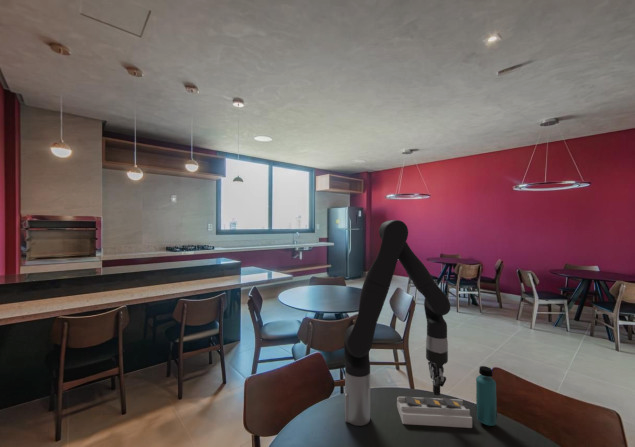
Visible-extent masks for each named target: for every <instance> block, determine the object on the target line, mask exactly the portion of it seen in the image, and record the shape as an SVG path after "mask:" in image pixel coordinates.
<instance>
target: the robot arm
mask: <svg viewBox="0 0 635 447" xmlns="http://www.w3.org/2000/svg"><path fill="white" fill-rule="evenodd" d="M378 234H379V237H380V239H381V243H380V248H379V250H378V254H377V256H376V258H375V259H374V260H373V263H372V264H371V265H370V268H369V269H368V271H367V273H366V275H365V279H364V281H363V284H362V287H361V291H360V296H359V304H358V305H359V306H358V311H357V317H356V320H355V322H354V324H352V325H350V326H349V327H348V328H347V329H346V331H345V333H344V366H345V367H344V371H345V372H344V373H345V374H344V378H345V379H344V384H345V385H344V422H345V423H349V424H351V425H353V426H358V427H359V426H361V427H362V426H363V427H364V426H365V425H367V424H369V422H370V421H371V362H370V353H369V352H370V351H371V349H372V346H373V341H374V336H375V331H376V328H377V324H378V320H379V318H380V315H381V313H382V310H383V307H384V304H385V301H386V299H387V296H388V293H389V290H390V287H391V283H392V280H393V277H394V273H395V271H396V267H397V264H398V261H399V262H400V264H401V266H402V267H403V269H404V270H405V271H406V274H407V275H408V277H409V279H410V280H411V281H412V283H413V285H414V287H415V288H416V289H417V291H418V293H420V294H421V295H422V297H424V301H423V306H424V313H425V318H426V319H425V320H426V340H425V358H426V360H427V361H428V362H427V364H428V370H429V376H430V379H431V383H432V393H433V395H434V396H441V387H444V385H445V383H446V381H447V377H446V376H444V373H445V372H444V371H445V369H444V365H446V364H448V361H449V360H448V359H449V353H448V352H449V351H448V350H449V341H448V325H447V322H446V320H445V319H444V316H446V315H447V314H449V312H450V311H451V302H450V300H449V298H448V296H447V295H446V293H444V291H443V290H442V289H441V288H440V286H438V284H437V283H436V282H435V280H434V278H433V276H432V275H431V273H430V272H429V270H428V268H427V267H426V266H425V264H424V263H423V262H422V261H421V260H420V259H419V257H418V256H417V255H416V254H415V253H414V251H413V250H412V248H410V246H409V244H408V243H407V240H408V236H409V229H408V226H407V225H406V223H405V222H403V221H401V220H399V219H393V220H386V221H384V222H383V223H381V225H380V227H379V229H378Z"/></svg>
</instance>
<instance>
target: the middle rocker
mask: <svg viewBox="0 0 635 447" xmlns="http://www.w3.org/2000/svg"><path fill="white" fill-rule="evenodd" d="M423 398H424V401H425V403H426V405H427V406H428V407H435V408H442V407H441V405H440V403H439V401H438V400H436V399H432V398H433V397H427V396H423Z"/></svg>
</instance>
